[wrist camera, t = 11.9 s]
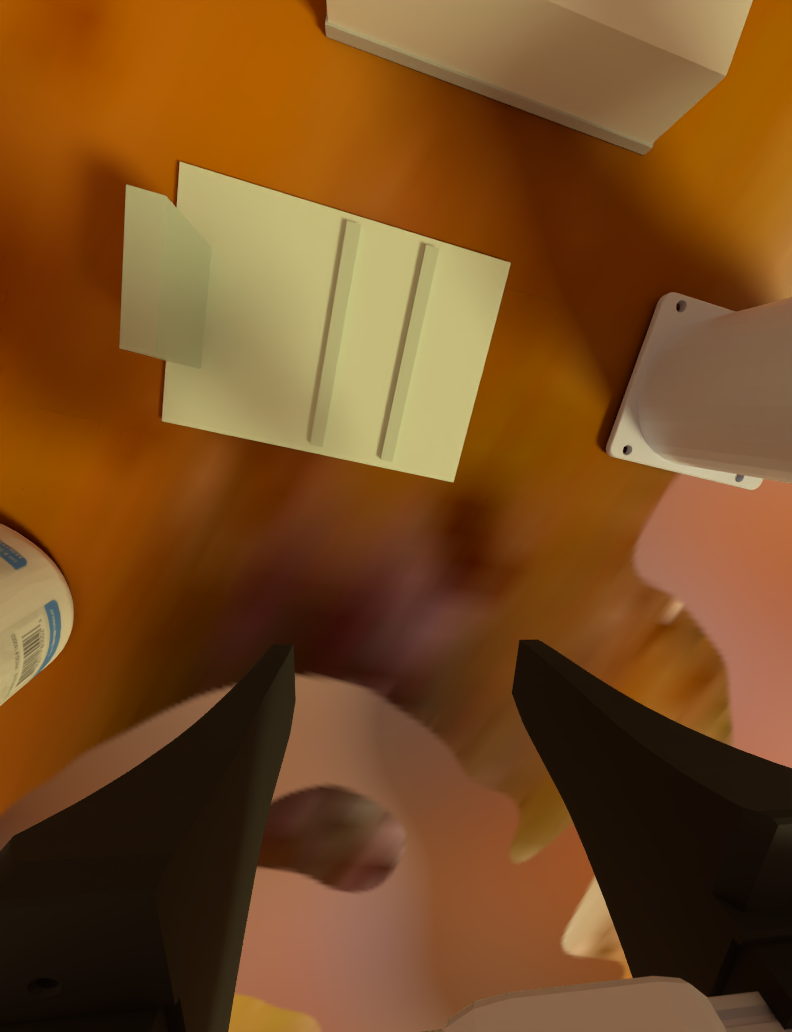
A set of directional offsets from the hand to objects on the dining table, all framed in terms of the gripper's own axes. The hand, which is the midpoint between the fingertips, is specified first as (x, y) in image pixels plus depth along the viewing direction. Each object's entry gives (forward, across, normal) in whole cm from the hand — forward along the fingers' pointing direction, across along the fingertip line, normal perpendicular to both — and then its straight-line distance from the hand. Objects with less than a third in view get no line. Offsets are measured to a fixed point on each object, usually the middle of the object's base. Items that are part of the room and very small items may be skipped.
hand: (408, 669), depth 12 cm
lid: (+10, +3, -11) cm, 15 cm away
